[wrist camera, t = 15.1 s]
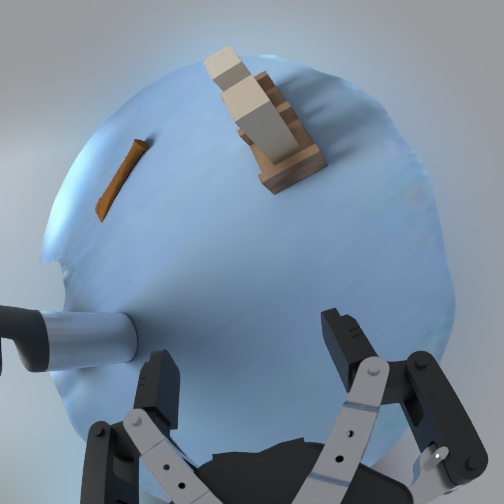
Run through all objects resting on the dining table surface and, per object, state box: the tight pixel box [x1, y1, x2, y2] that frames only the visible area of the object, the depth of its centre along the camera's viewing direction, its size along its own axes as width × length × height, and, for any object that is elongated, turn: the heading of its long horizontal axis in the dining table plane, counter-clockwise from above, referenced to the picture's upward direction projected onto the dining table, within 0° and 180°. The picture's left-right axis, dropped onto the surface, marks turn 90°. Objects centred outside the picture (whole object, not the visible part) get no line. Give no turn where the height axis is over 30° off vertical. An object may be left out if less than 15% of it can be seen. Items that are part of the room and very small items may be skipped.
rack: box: [221, 71, 327, 194], centre depth 36 cm, size 8×18×4 cm, turn 22°
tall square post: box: [203, 45, 263, 92], centre depth 33 cm, size 4×5×12 cm
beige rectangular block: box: [220, 74, 302, 166], centre depth 30 cm, size 4×5×12 cm
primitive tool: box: [95, 139, 148, 222], centre depth 51 cm, size 19×6×4 cm, turn 136°
